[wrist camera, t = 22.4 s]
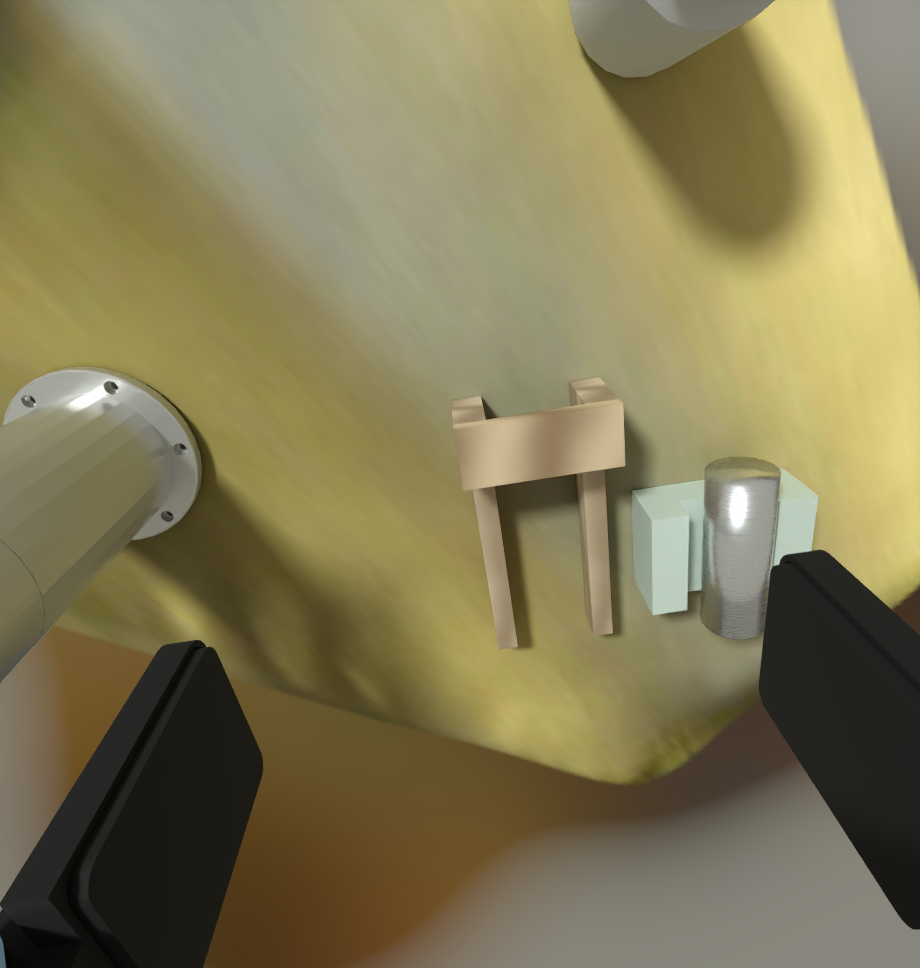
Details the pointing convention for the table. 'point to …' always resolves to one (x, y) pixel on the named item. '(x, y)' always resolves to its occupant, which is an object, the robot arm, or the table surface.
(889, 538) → the table surface
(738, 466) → the axle
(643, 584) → the v block
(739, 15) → the can
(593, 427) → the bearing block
